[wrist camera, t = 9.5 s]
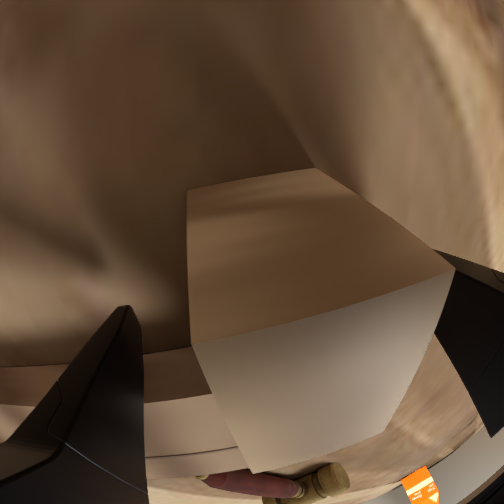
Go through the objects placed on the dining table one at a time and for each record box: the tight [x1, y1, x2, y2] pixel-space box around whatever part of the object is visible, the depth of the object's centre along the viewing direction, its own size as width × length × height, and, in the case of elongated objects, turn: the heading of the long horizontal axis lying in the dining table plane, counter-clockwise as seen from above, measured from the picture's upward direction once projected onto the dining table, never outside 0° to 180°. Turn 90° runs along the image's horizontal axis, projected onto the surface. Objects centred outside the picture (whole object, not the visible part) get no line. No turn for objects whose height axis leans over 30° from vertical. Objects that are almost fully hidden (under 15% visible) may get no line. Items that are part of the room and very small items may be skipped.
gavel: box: [195, 463, 350, 504], centre depth 22 cm, size 21×5×10 cm
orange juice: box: [401, 466, 439, 504], centre depth 67 cm, size 8×9×20 cm
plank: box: [0, 347, 249, 479], centre depth 12 cm, size 24×10×2 cm, turn 97°
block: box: [187, 168, 456, 474], centre depth 9 cm, size 4×12×6 cm, turn 7°
